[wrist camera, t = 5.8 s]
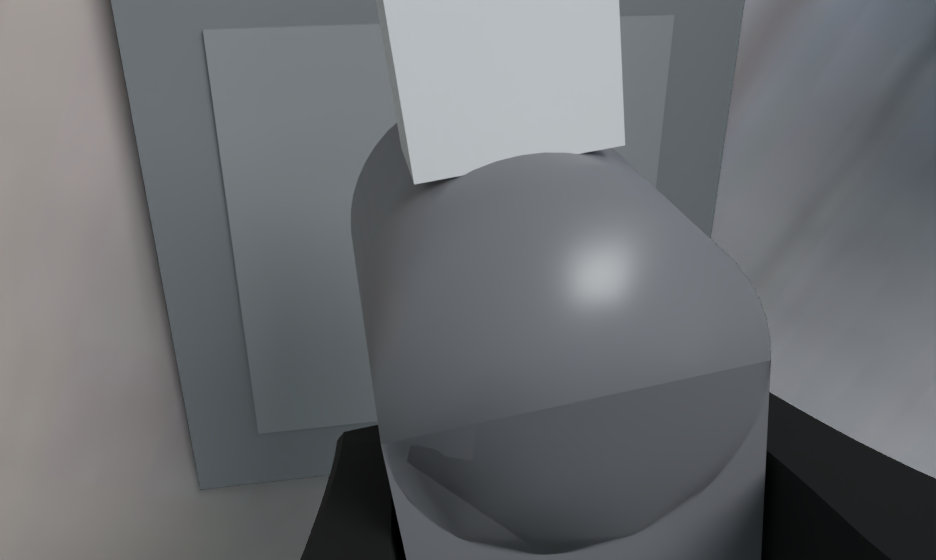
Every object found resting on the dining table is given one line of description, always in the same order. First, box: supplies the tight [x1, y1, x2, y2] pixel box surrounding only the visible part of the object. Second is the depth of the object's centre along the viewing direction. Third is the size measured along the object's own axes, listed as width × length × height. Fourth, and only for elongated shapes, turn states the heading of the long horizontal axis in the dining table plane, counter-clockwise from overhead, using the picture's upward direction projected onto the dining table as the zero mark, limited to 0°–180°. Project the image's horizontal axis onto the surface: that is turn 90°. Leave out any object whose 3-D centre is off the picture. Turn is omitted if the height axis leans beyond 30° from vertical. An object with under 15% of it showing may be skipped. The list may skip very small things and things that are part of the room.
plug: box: [351, 0, 771, 560], centre depth 11 cm, size 11×4×4 cm, turn 7°
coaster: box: [111, 0, 745, 490], centre depth 18 cm, size 12×12×1 cm
